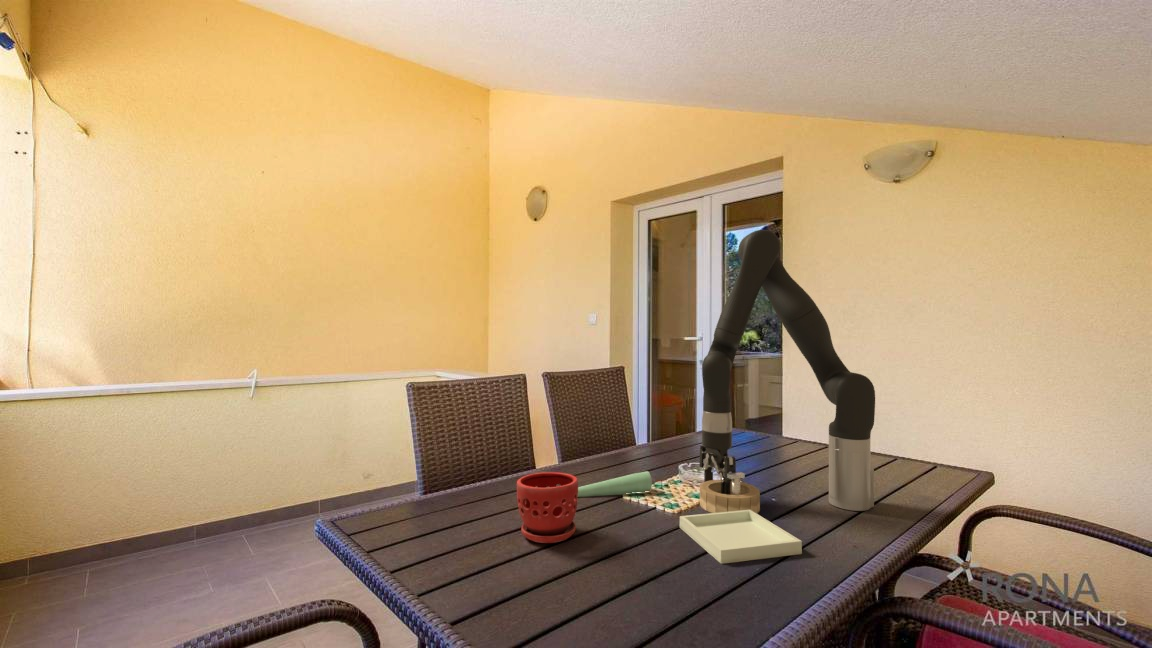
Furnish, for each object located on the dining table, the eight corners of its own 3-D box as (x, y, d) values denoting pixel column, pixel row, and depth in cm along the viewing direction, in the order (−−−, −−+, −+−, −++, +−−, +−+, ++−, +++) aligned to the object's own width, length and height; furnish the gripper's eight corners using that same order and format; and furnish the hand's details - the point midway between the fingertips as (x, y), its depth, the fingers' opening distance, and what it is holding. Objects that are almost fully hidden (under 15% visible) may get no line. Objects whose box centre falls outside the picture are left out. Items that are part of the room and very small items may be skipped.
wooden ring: (738, 495, 133) (738, 478, 133) (771, 514, 120) (771, 495, 120) (690, 499, 130) (690, 481, 130) (718, 519, 116) (718, 500, 116)
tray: (749, 520, 116) (749, 509, 116) (801, 553, 99) (801, 541, 99) (679, 527, 112) (679, 516, 112) (721, 563, 95) (721, 550, 95)
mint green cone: (549, 475, 134) (644, 468, 139) (549, 495, 134) (645, 488, 139) (552, 481, 128) (652, 474, 134) (552, 502, 128) (652, 495, 134)
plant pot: (585, 527, 112) (586, 473, 112) (565, 552, 99) (565, 491, 99) (531, 519, 116) (532, 467, 116) (505, 542, 104) (506, 484, 104)
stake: (740, 508, 123) (740, 471, 123) (745, 511, 121) (745, 474, 122) (726, 510, 122) (726, 473, 122) (730, 513, 120) (730, 475, 121)
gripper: (745, 433, 125) (745, 499, 125) (715, 422, 139) (715, 481, 138) (718, 435, 123) (717, 501, 123) (690, 424, 137) (690, 483, 137)
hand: (716, 491), depth 131 cm, fingers open, 8 cm apart
